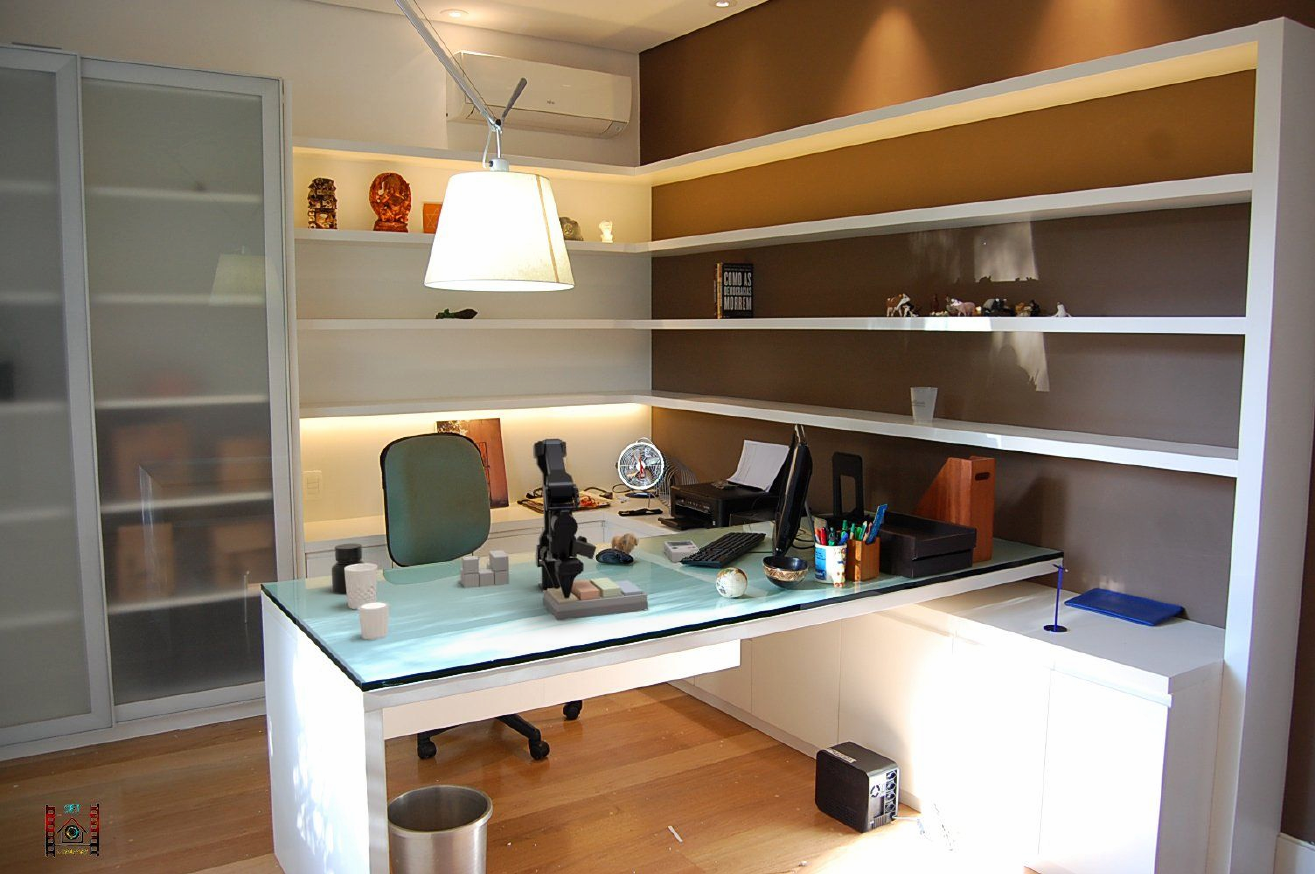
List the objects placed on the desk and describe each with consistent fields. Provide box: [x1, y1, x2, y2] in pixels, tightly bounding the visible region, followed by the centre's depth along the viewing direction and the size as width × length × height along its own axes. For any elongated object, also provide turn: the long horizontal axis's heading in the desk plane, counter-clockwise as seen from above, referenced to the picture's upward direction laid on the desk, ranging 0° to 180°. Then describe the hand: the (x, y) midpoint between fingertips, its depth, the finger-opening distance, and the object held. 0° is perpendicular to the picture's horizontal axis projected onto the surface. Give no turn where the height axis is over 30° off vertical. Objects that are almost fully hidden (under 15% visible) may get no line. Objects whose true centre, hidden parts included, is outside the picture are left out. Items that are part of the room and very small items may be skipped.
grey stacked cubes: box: [459, 549, 510, 589], centre depth 265 cm, size 12×12×8 cm
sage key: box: [589, 577, 621, 598], centre depth 239 cm, size 11×5×2 cm, turn 21°
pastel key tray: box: [542, 590, 649, 621], centre depth 238 cm, size 14×23×4 cm, turn 111°
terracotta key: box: [571, 579, 599, 601], centre depth 237 cm, size 11×5×2 cm, turn 21°
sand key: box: [547, 587, 577, 603], centre depth 235 cm, size 11×5×2 cm, turn 21°
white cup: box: [344, 562, 378, 610], centre depth 240 cm, size 8×8×10 cm
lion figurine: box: [611, 532, 640, 555], centre depth 289 cm, size 15×5×9 cm, turn 34°
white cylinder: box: [357, 601, 390, 640], centre depth 217 cm, size 7×7×7 cm
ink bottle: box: [331, 543, 365, 595], centre depth 255 cm, size 10×9×12 cm
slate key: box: [613, 580, 644, 596], centre depth 241 cm, size 11×5×2 cm, turn 21°
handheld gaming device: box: [663, 540, 700, 563], centre depth 292 cm, size 9×15×4 cm, turn 9°
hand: (561, 593), depth 235 cm, fingers open, 9 cm apart
